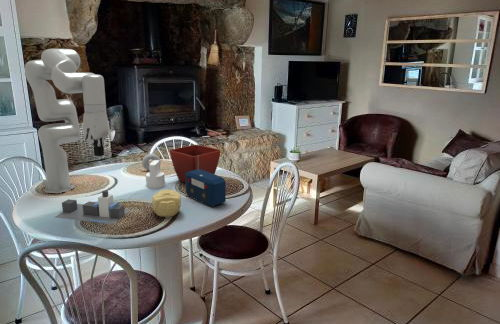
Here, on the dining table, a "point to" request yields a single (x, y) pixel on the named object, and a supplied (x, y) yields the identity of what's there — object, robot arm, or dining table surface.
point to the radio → (205, 187)
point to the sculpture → (166, 203)
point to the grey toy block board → (91, 212)
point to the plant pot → (194, 159)
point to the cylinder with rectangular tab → (155, 176)
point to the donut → (146, 160)
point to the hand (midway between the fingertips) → (99, 155)
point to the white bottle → (105, 203)
